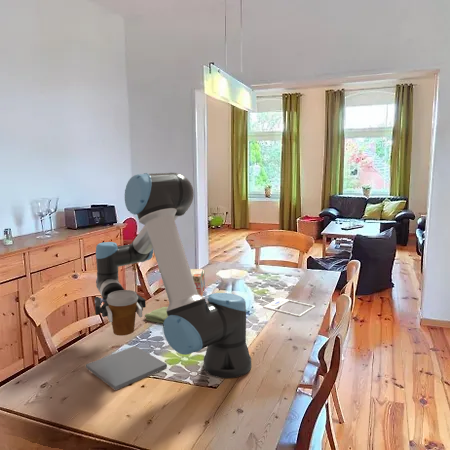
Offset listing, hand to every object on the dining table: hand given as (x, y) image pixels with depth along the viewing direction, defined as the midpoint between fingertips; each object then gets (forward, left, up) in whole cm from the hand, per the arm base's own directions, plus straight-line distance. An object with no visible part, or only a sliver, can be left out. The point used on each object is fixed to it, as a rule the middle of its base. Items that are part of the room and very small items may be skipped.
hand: (126, 315), depth 120 cm
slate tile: (+4, -2, -19) cm, 19 cm away
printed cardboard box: (+42, -64, -19) cm, 79 cm away
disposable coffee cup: (+5, -2, -7) cm, 9 cm away
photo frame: (-1, -81, -20) cm, 83 cm away
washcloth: (+27, -36, -20) cm, 49 cm away
